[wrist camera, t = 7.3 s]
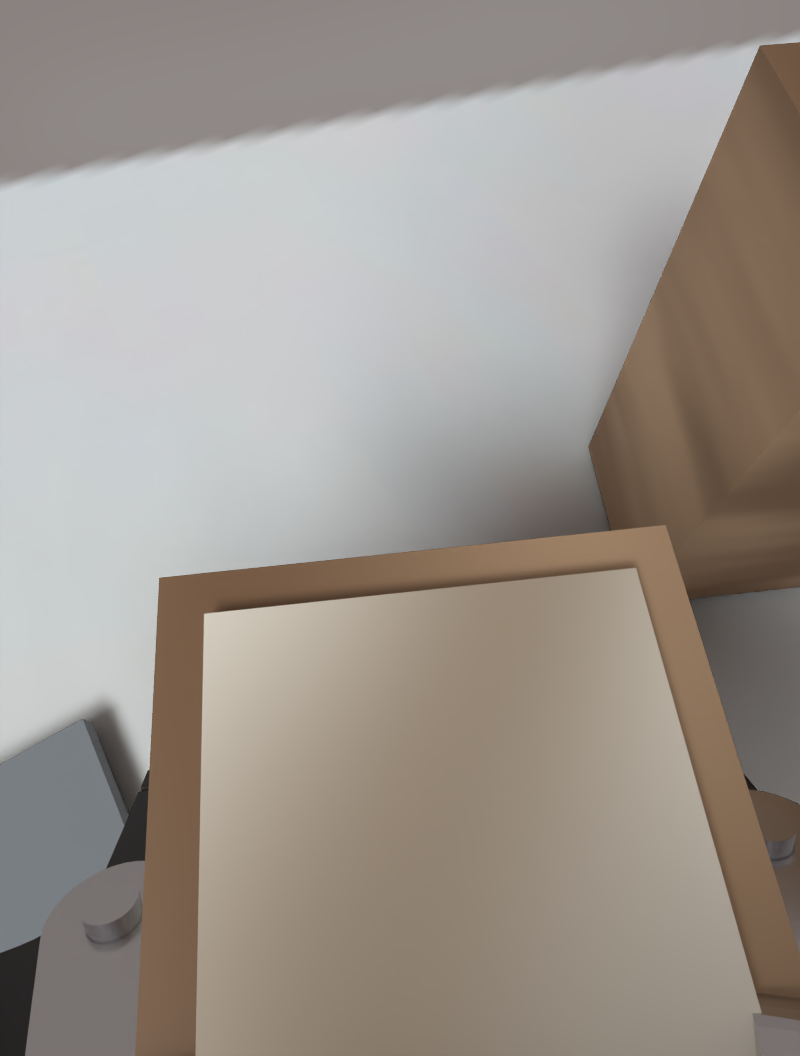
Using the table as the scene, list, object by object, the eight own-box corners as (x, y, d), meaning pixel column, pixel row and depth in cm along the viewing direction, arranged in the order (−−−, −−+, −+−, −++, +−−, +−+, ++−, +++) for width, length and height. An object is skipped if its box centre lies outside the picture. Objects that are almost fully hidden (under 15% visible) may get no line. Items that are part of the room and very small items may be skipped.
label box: (515, 723, 15) (677, 508, 6) (559, 967, 13) (905, 1212, 4) (308, 746, 15) (146, 564, 6) (319, 998, 13) (99, 1326, 4)
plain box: (752, 430, 18) (1077, 19, 9) (814, 585, 16) (1301, 252, 7) (588, 446, 18) (759, 45, 9) (631, 605, 16) (901, 290, 7)
